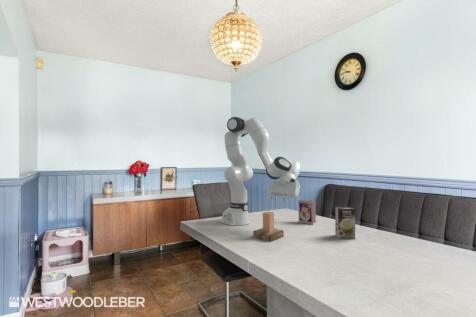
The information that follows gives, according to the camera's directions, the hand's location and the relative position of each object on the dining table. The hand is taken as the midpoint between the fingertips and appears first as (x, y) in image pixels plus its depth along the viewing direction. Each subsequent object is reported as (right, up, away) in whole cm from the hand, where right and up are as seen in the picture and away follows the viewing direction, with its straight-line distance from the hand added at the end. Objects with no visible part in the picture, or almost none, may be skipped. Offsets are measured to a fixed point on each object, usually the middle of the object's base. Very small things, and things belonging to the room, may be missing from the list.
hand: (277, 200), depth 154 cm
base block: (-6, -20, -7) cm, 22 cm away
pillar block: (-6, -16, -7) cm, 18 cm away
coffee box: (+37, -19, -8) cm, 42 cm away
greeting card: (+25, -19, +26) cm, 41 cm away
